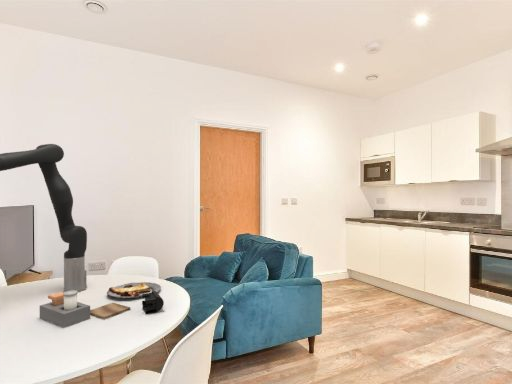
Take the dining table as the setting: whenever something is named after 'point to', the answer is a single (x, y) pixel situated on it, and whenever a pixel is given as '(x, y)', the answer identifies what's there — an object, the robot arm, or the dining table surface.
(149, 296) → the end cap
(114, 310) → the walnut board
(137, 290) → the food plate
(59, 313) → the grey hollow block
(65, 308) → the cylinder
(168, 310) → the dining table surface
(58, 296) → the orange cube
